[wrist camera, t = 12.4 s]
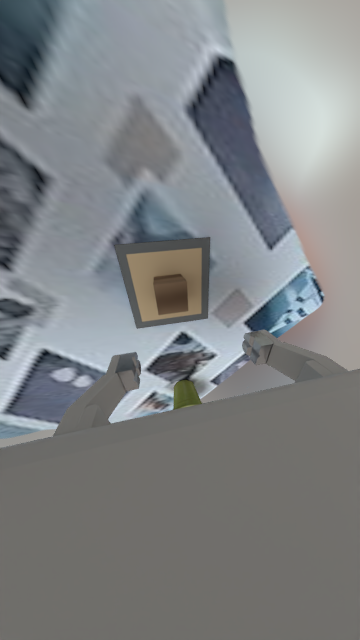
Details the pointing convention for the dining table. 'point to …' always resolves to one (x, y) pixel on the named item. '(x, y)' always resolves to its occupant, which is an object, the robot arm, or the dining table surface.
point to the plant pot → (185, 395)
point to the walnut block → (171, 294)
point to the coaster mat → (160, 261)
